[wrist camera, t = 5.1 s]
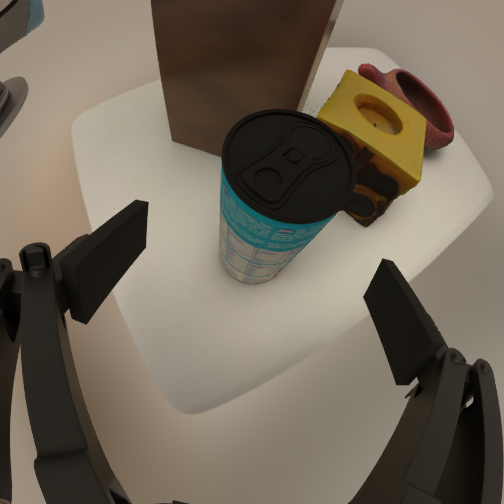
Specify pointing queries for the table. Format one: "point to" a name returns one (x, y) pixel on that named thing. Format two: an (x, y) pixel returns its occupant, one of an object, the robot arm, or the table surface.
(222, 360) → the table surface
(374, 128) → the candle
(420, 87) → the bowl
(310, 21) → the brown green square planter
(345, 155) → the beverage can
